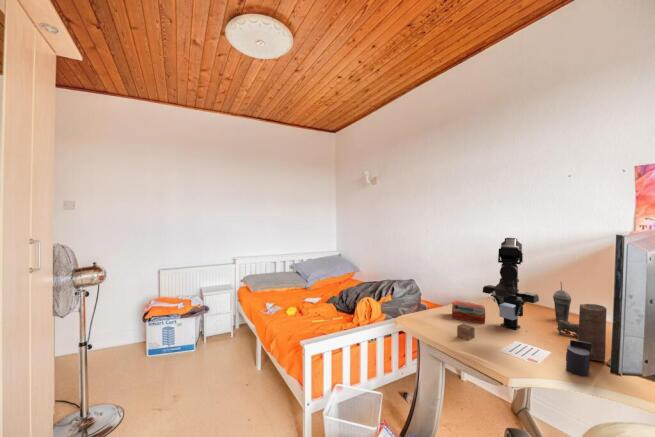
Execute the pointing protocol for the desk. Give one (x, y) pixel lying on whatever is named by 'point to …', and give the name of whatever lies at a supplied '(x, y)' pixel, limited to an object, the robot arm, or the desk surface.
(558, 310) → the beverage cup
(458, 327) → the walnut block
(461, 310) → the medicine box
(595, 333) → the candle
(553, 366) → the desk surface
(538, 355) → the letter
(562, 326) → the dog figurine
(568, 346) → the speaker
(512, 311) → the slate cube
